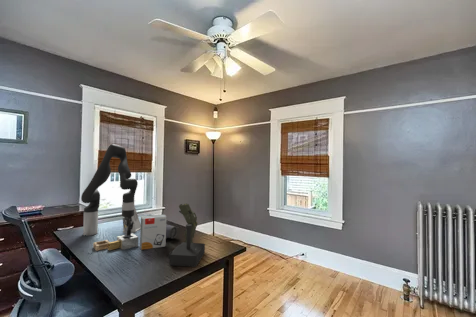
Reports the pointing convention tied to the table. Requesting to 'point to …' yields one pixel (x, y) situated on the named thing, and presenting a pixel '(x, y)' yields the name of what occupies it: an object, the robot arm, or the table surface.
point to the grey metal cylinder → (126, 233)
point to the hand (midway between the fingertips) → (127, 234)
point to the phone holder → (135, 222)
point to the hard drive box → (153, 231)
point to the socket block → (128, 241)
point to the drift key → (114, 245)
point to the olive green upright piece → (189, 219)
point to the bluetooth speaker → (171, 231)
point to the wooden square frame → (100, 245)
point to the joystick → (187, 252)
